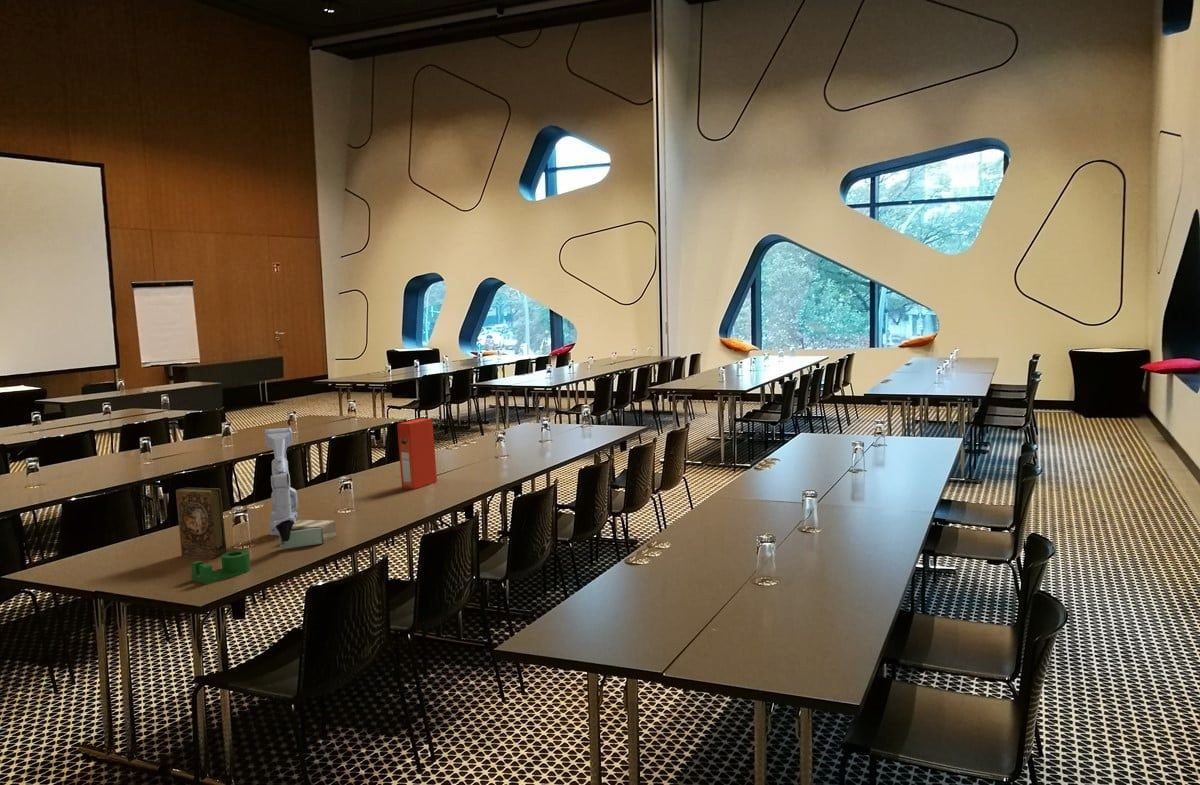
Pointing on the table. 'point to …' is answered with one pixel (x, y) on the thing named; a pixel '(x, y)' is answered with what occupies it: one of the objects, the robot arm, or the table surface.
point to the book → (201, 522)
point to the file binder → (417, 453)
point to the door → (303, 538)
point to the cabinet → (327, 527)
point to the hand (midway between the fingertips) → (285, 540)
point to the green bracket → (231, 566)
